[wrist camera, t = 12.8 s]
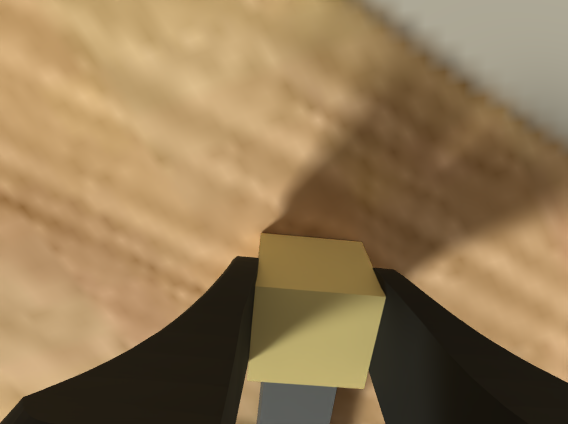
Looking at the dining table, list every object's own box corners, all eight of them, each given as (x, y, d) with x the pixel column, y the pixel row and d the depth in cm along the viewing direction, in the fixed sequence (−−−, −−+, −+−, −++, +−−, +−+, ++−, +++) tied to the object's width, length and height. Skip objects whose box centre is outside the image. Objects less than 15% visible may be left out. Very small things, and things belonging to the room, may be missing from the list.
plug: (313, 481, 16) (320, 568, 14) (239, 477, 16) (230, 563, 14) (361, 241, 12) (385, 296, 9) (260, 232, 12) (255, 286, 9)
